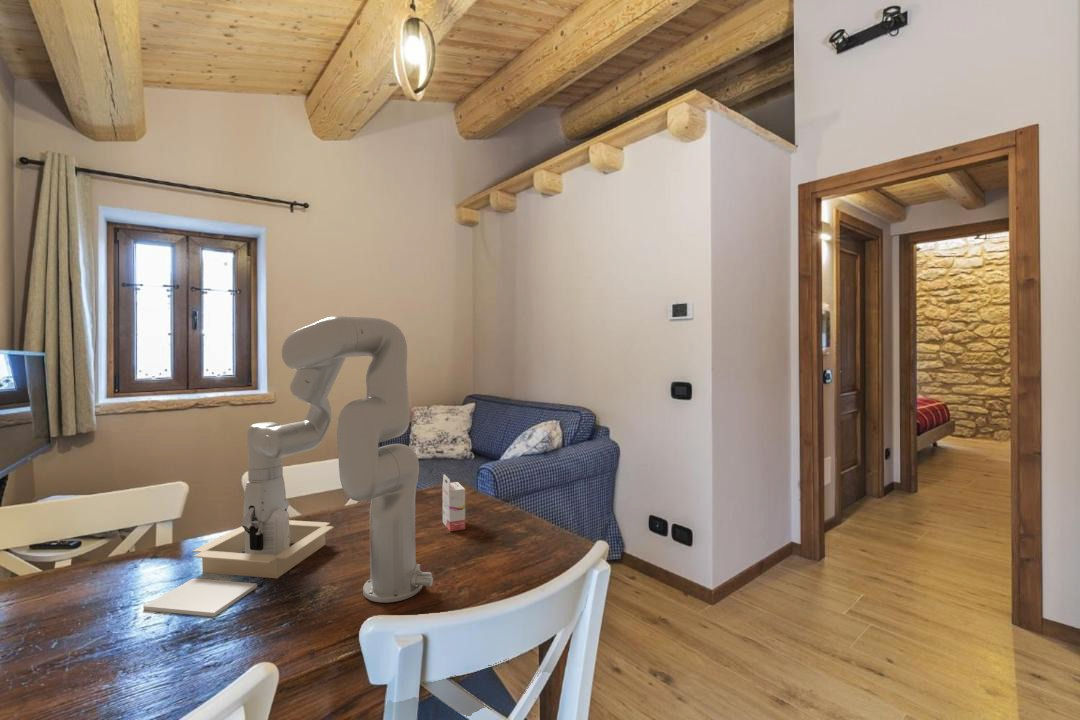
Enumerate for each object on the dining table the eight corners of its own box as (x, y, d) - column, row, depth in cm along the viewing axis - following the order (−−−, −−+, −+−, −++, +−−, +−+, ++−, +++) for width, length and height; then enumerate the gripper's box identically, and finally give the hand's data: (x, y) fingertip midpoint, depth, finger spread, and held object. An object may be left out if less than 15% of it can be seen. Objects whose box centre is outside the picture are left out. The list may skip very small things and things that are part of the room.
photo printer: (292, 553, 130) (291, 505, 129) (286, 560, 125) (285, 510, 125) (249, 555, 128) (248, 507, 128) (241, 562, 124) (240, 512, 123)
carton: (339, 541, 137) (338, 523, 137) (279, 584, 113) (279, 562, 113) (258, 536, 141) (257, 518, 140) (184, 576, 117) (183, 555, 116)
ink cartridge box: (466, 529, 145) (466, 478, 145) (449, 532, 143) (449, 480, 143) (458, 519, 153) (457, 471, 153) (442, 522, 151) (441, 473, 150)
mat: (257, 587, 112) (256, 583, 112) (213, 616, 100) (213, 612, 100) (193, 581, 114) (192, 578, 114) (143, 610, 102) (143, 606, 102)
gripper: (275, 463, 135) (277, 529, 136) (225, 482, 118) (227, 557, 119) (301, 464, 134) (302, 531, 135) (254, 483, 117) (256, 559, 117)
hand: (267, 542), depth 127 cm, fingers open, 6 cm apart
